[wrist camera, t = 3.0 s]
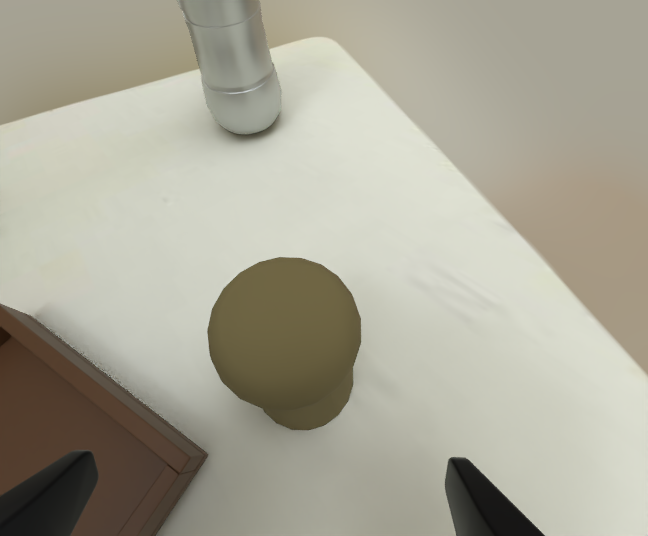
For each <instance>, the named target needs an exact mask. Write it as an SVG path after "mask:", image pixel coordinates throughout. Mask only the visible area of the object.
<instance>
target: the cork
mask: <svg viewBox="0 0 648 536" xmlns="http://www.w3.org/2000/svg"><path fill="white" fill-rule="evenodd" d="M207 332H208V341H209V351H210V356H211V360H212V362H213V364H214V366H215V368H216V370H217V372H218V374H219V376H220V378H221V380H222V382H223V383H224V384H225V385H226V386H227V387H228V388H229V389H230V390H231V391H232V392H233V393H235V394H236V395H237V396H238V397H239V398H240V399H242V400H244V401H246V402H249V403H251V404H254V405H256V406H258V407H261V408H263V410H264V412H265V413H266V414H267V415H269V416H270V417H271V418H272V419H273V420H274V421H275V422H276V423H278V424H280V425H282V426H285V427H287V428H290V429H293V430H311V429H314V428H317V427H320V426H323V425H325V424H327V423H328V422H330V421H331V420H332V419H334V418H335V417H336V416H338V415H339V413H340V412H341V410H342V409H343V407H344V406H345V405H346V403H347V402H348V399H349V396H350V393H351V390H352V387H353V366H354V363H355V360H356V356H357V353H358V350H359V347H360V344H361V318H360V315H359V312H358V310H357V307H356V304H355V301H354V298H353V296H352V294H351V292H350V291H349V290H348V288H347V287H346V286H345V285H344V283H343V282H342V281H341V279H340V278H339V277H338V276H337V275H336V274H334V273H333V272H331V271H330V270H328V269H327V268H325V267H324V266H322V265H321V264H318V263H315V262H312V261H309V260H306V259H302V258H283V257H279V258H275V259H270V260H266V261H262V262H259V263H257V264H255V265H253V266H251V267H250V268H248V269H246V270H244V271H242V272H241V273H239V274H238V275H237V276H236V277H235V278H234V279H233V280H232V281H231V282H230V283H229V284H228V285H227V286H226V287H225V288H224V289H223V291H222V292H221V294H220V296H219V298H218V300H217V301H216V303H215V305H214V307H213V308H212V312H211V317H210V322H209V326H208V331H207Z"/></svg>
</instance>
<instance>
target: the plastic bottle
mask: <svg viewBox="0 0 648 536" xmlns="http://www.w3.org/2000/svg"><path fill="white" fill-rule="evenodd" d="M177 1H178V4H179V6H180V9H181V10H182V11H183V16H184V19H185V21H186V24H187V26H188V29H189V32H190V36H191V39H192V43H193V46H194V50H195V54H196V57H197V61H198V65H199V68H200V72H201V79H202V86H203V91H204V95H205V100H206V104H207V106H208V108H209V110H210V112H211V113H212V115H213V117H214V118H215V120H216V121H217V123H218V124H220V125H221V126H222V127H224V128H225V129H227V130H228V131H230V132H233V133H236V134H253V133H257V132H260V131H262V130H265V129H266V128H268V127H269V126H271V125H272V124H273V123H274V121H275V120H276V118H277V116H278V114H279V112H280V110H281V87H280V83H279V80H278V76H277V72H276V70H275V67H274V64H273V63H272V60H271V55H270V51H269V47H268V43H267V39H266V34H265V30H264V26H263V22H262V15H261V7H260V1H259V0H177Z"/></svg>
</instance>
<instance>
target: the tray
mask: <svg viewBox="0 0 648 536" xmlns="http://www.w3.org/2000/svg"><path fill="white" fill-rule="evenodd" d="M74 450H90V451H91V452H93V455H94V458H95V462H96V465H97V469H98V473H99V478H98V482H97V485H96V487H95V489H94V491H93V493H92V495H91V497H90V499H89V501H88V503H87V505H86V506H85V508H84V510H83V512H82V514H81V516H80V518H79V520H78V522H77V524H76V526H75V528H74V530H73V532H72V534H71V536H155V535H156V533H157V532H158V530H159V529H160V527H161V526H162V524H163V523H164V521H165V520H166V518H167V517H168V515H169V514H170V512H171V511H172V509H173V508H174V506H175V505H176V503H177V502H178V500H179V499H180V497H181V496H182V494H183V493H184V491H185V490H186V488H187V487H188V485H189V483H190V482H191V480H192V479H193V477H194V476H195V474H196V473H197V471H198V470H199V468H200V467H201V465H202V464H203V462H204V461H205V459H206V458H207V456H208V454H207V453H206V452H205V451H203V450H202V449H201V448H200V447H198V446H197V445H196V444H194V443H193V442H192V441H191V440H189V439H188V438H187V437H186V436H184V435H183V434H182V433H180V432H179V431H178V430H177V429H175V428H174V427H173V426H171V425H170V424H169V423H168V422H166V421H165V420H164V419H162V418H161V417H160V416H159V415H157V414H156V413H155V412H153V411H152V410H151V409H150V408H148V407H147V406H146V405H144V404H143V403H142V402H141V401H139V400H138V399H137V398H135V397H134V396H133V395H132V394H130V393H129V392H128V391H126V390H125V389H124V388H123V387H121V386H120V385H119V384H117V383H116V382H115V381H114V380H112V379H111V378H110V377H108V376H107V375H106V374H105V373H103V372H102V371H101V370H99V369H98V368H97V367H96V366H94V365H93V364H92V363H91V362H89V361H88V360H87V359H85V358H84V357H83V356H82V355H80V354H79V353H78V352H76V351H75V350H74V349H73V348H71V347H70V346H69V345H67V344H66V343H65V342H64V341H62V340H61V339H60V338H58V337H57V336H56V335H55V334H53V333H52V332H51V331H49V330H48V329H47V328H46V327H44V326H43V325H42V324H40V323H39V322H38V321H37V320H35V319H34V318H33V317H31V316H30V315H27V314H25V313H22V312H20V311H17V310H15V309H12V308H10V307H7V306H5V305H2V304H0V496H1V495H2V494H4V493H6V492H7V491H9V490H10V489H12V488H14V487H15V486H17V485H18V484H20V483H22V482H23V481H25V480H26V479H28V478H29V477H31V476H33V475H34V474H36V473H37V472H39V471H41V470H42V469H44V468H45V467H47V466H49V465H50V464H52V463H53V462H55V461H57V460H58V459H60V458H61V457H63V456H65V455H66V454H68V453H69V452H71V451H74Z"/></svg>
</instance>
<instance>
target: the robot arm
mask: <svg viewBox="0 0 648 536" xmlns="http://www.w3.org/2000/svg"><path fill="white" fill-rule="evenodd" d="M98 478H99V473H98V469H97V465H96V462H95V458H94V455H93V452H91V451H90V450H74V451H71V452H69V453H68V454H66V455H65V456H63V457H61V458H60V459H58V460H57V461H55V462H53V463H52V464H50V465H49V466H47V467H45V468H44V469H42V470H41V471H39V472H37V473H36V474H34V475H33V476H31V477H29V478H28V479H26V480H25V481H23V482H22V483H20V484H18V485H17V486H15V487H14V488H12V489H10V490H9V491H7V492H6V493H4V494H2V495H1V496H0V536H71V534H72V532H73V530H74V528H75V526H76V524H77V522H78V520H79V518H80V516H81V514H82V512H83V510H84V508H85V506H86V505H87V503H88V501H89V499H90V497H91V495H92V493H93V491H94V489H95V487H96V485H97V482H98ZM445 490H446V495H447V499H448V503H449V507H450V511H451V515H452V519H453V523H454V527H455V531H456V535H457V536H545V535H544V534H543V533H542V532H541V531H540V530H539V529H538V528H537V527H536V526H535V525H534V524H533V523H532V522H531V521H530V520H529V519H528V518H527V517H526V516H525V515H524V514H523V513H522V512H521V511H520V510H519V509H518V508H517V507H516V506H515V505H514V504H513V503H512V502H511V501H510V500H509V499H508V498H507V497H506V496H505V495H504V494H503V493H502V492H501V491H500V490H499V489H497V488H496V487H495V486H494V485H493V484H492V483H491V482H490V481H489V480H488V479H487V478H486V477H485V476H484V475H483V474H482V473H481V472H480V471H479V470H478V469H477V468H476V467H475V466H474V465H473V464H472V463H471V462H470V461H469V460H468V459H467V458H462V457H451V458H450V459H449V461H448V466H447V472H446V478H445Z"/></svg>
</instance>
